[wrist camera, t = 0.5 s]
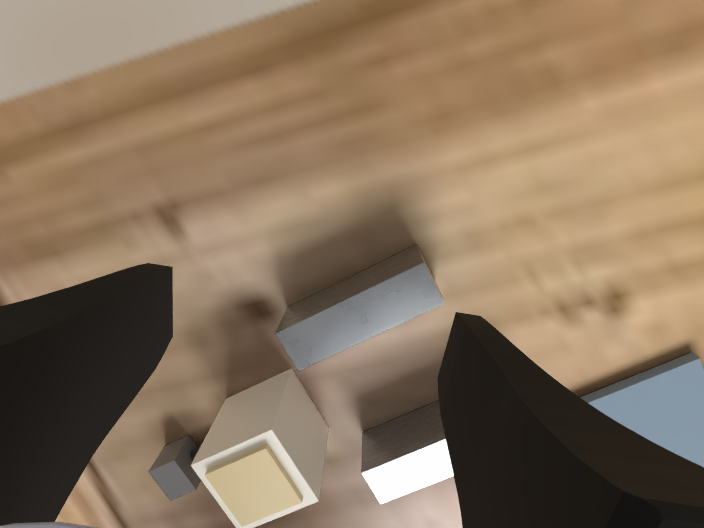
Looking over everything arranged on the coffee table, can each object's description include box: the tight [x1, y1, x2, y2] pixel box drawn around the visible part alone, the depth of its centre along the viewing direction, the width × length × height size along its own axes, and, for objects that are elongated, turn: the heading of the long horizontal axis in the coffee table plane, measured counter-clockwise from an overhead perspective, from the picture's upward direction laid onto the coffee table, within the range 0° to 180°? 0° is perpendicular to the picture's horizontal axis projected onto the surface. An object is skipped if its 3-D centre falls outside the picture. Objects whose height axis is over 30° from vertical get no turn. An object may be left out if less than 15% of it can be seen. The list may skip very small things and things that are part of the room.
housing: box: [275, 244, 454, 504], centre depth 22 cm, size 7×10×3 cm
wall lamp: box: [149, 368, 329, 528], centre depth 22 cm, size 9×4×5 cm, turn 118°
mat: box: [580, 352, 704, 467], centre depth 24 cm, size 13×7×1 cm, turn 118°
